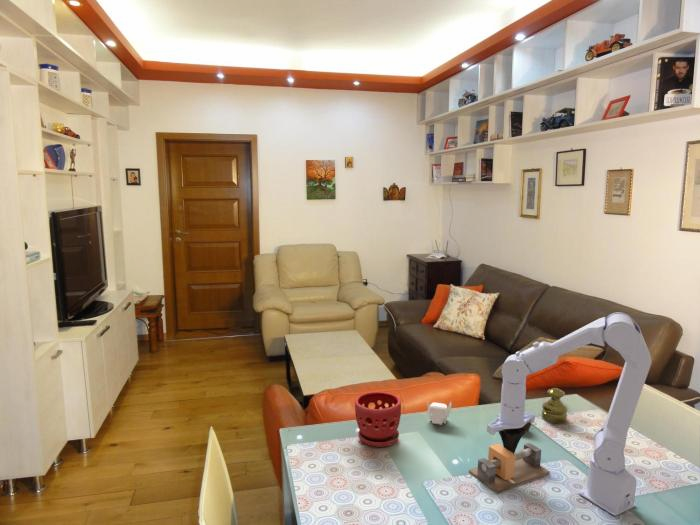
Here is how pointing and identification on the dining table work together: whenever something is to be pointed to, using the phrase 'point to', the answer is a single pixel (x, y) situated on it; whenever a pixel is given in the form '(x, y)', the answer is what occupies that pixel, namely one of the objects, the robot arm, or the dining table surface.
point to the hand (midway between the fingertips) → (509, 453)
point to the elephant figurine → (438, 412)
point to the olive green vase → (555, 407)
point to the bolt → (527, 426)
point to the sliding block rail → (523, 472)
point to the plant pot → (378, 418)
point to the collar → (502, 460)
